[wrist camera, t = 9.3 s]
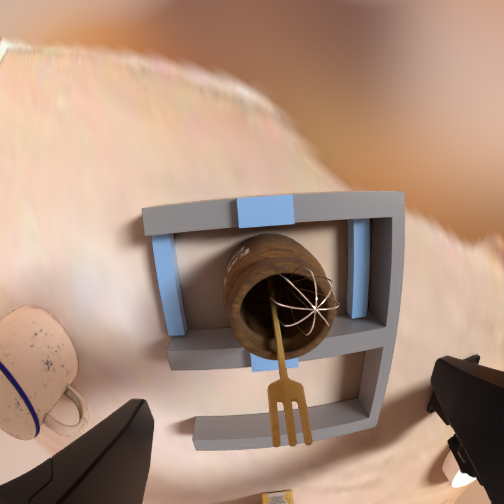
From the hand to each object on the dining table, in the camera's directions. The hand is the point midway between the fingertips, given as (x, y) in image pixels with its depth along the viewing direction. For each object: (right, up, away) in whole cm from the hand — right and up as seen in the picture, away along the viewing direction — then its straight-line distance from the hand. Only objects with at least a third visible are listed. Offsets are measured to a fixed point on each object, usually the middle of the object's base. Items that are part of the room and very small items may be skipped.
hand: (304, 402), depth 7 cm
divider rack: (0, -2, +14) cm, 14 cm away
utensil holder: (0, +3, +13) cm, 13 cm away
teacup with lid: (-20, -5, +14) cm, 25 cm away
